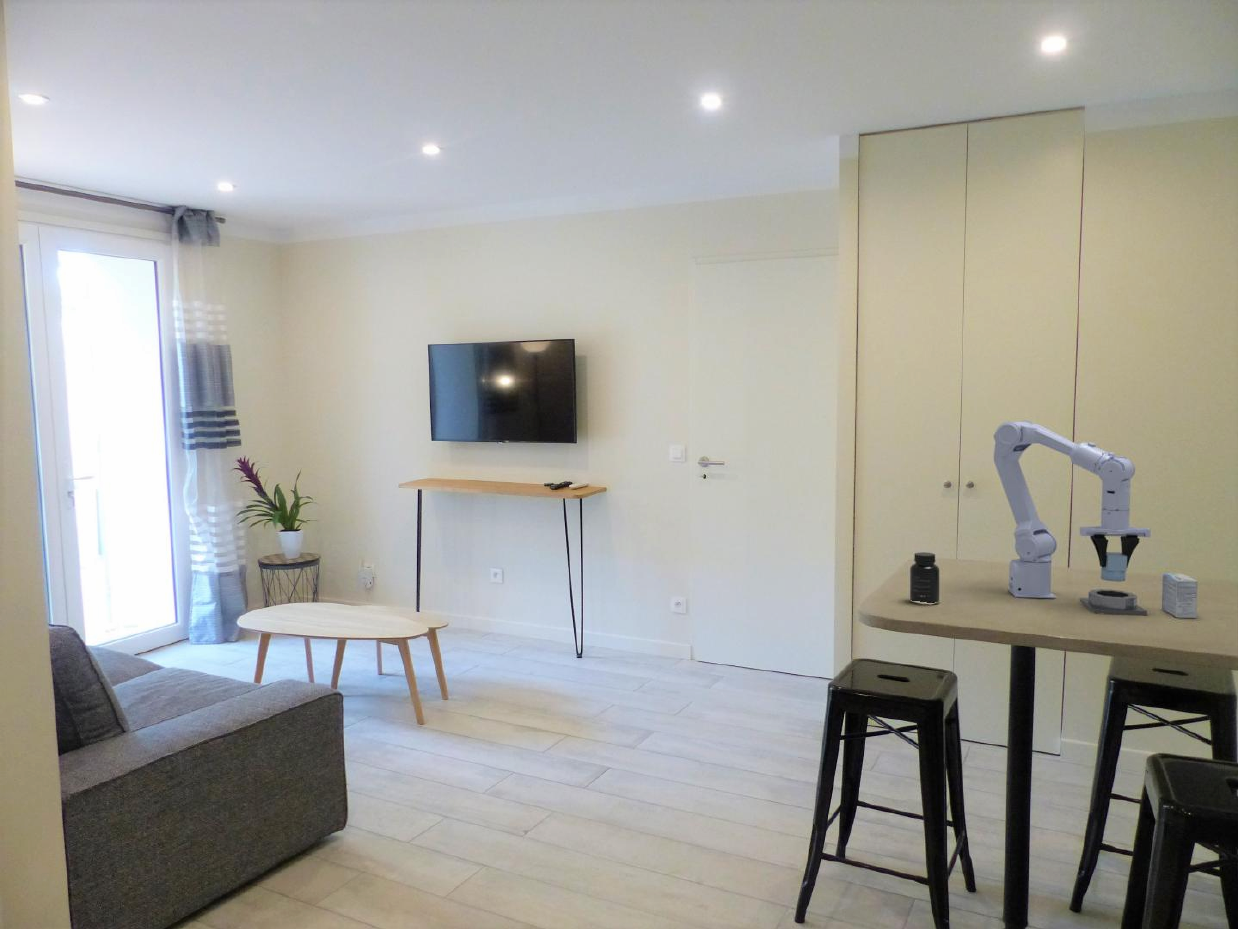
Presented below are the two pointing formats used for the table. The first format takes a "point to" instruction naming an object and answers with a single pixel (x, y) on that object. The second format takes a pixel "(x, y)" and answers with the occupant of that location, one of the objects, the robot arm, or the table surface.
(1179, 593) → the medicine box
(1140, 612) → the square plate with ring
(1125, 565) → the pale blue block
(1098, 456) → the robot arm
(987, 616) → the table surface
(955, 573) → the table surface
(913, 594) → the supplement bottle
